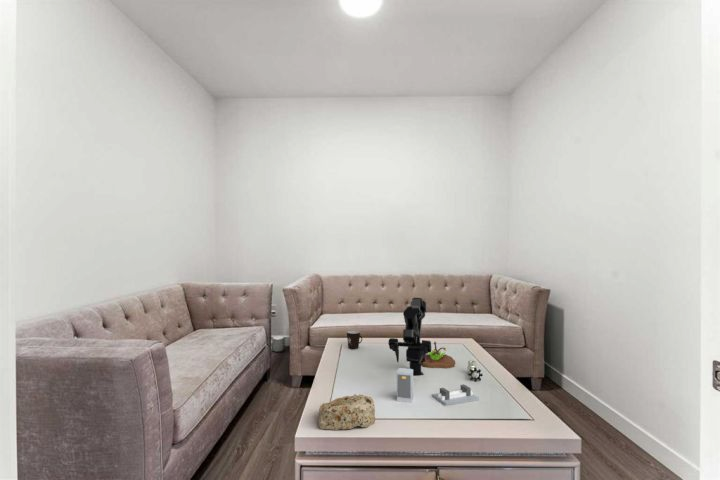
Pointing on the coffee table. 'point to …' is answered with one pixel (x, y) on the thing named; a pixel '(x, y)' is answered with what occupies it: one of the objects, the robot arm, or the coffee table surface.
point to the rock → (347, 413)
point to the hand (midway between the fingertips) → (408, 362)
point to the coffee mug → (353, 339)
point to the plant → (438, 359)
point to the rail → (455, 396)
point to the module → (405, 385)
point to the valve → (473, 370)
